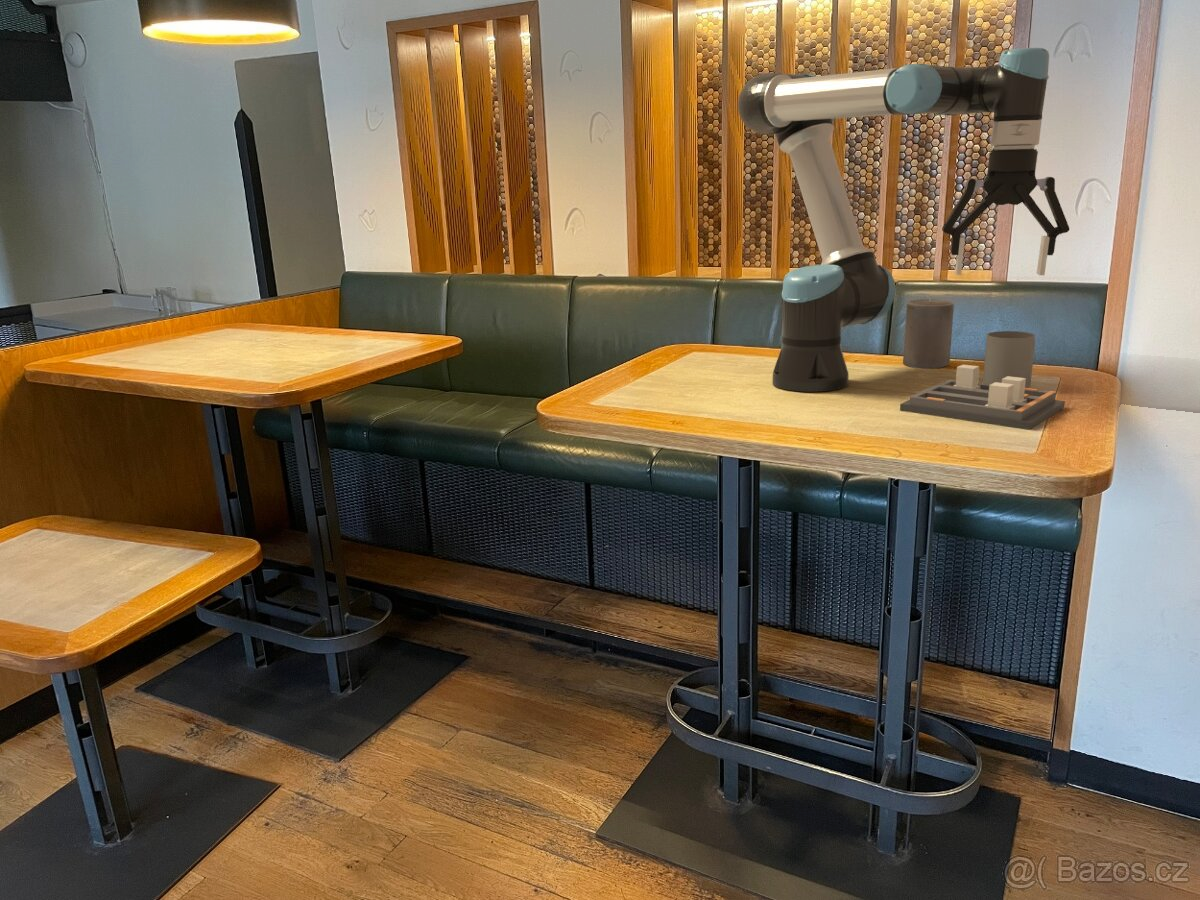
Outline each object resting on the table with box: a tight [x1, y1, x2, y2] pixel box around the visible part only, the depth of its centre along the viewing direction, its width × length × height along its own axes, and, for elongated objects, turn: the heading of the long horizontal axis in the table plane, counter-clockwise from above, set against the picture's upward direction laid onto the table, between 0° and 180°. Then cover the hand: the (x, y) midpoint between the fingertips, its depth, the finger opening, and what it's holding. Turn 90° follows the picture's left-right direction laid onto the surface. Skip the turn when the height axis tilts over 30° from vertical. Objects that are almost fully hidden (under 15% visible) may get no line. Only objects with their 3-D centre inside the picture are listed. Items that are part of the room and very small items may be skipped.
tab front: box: [985, 382, 1015, 410], centre depth 144 cm, size 4×3×5 cm
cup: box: [982, 330, 1036, 388], centre depth 167 cm, size 8×8×10 cm
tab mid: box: [1002, 376, 1027, 403], centre depth 148 cm, size 4×3×5 cm
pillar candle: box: [902, 295, 956, 370], centre depth 188 cm, size 10×10×15 cm
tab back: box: [954, 364, 981, 389], centre depth 159 cm, size 4×3×5 cm
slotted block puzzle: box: [899, 379, 1066, 431], centre depth 152 cm, size 22×17×3 cm
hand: (998, 274), depth 154 cm, fingers open, 13 cm apart
